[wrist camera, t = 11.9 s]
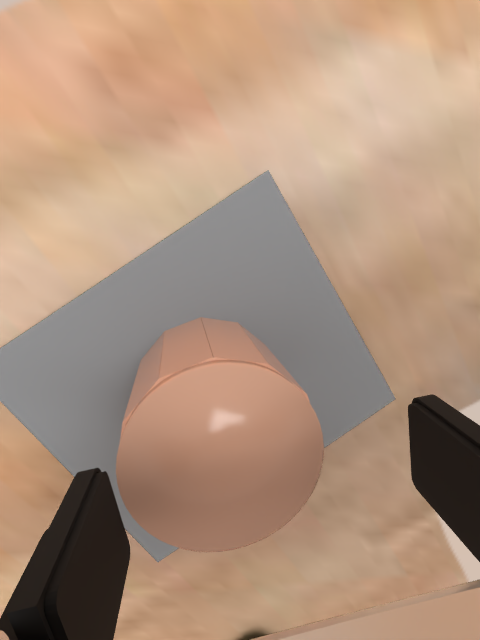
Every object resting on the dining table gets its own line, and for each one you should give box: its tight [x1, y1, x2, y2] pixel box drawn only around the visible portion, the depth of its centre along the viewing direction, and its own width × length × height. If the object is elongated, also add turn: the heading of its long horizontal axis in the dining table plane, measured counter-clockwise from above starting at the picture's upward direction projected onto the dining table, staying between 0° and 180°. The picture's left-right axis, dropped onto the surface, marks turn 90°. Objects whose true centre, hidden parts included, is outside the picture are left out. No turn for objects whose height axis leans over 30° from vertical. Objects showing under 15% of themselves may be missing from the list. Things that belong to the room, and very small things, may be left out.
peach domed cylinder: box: [116, 317, 324, 552], centre depth 15 cm, size 7×7×6 cm
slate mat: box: [0, 170, 396, 562], centre depth 18 cm, size 16×14×1 cm
